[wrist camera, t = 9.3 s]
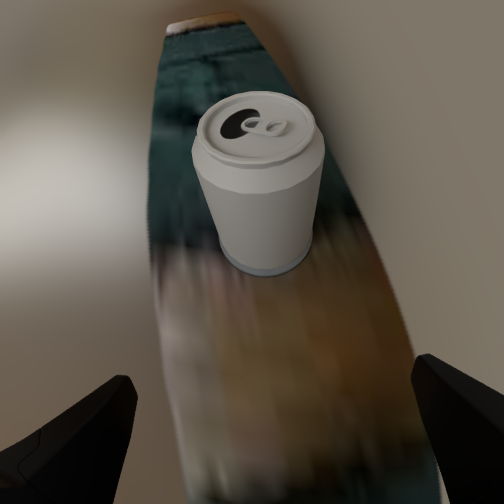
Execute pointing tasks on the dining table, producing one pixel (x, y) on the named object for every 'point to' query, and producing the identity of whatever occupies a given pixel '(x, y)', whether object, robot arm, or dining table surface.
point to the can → (260, 175)
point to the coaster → (267, 272)
